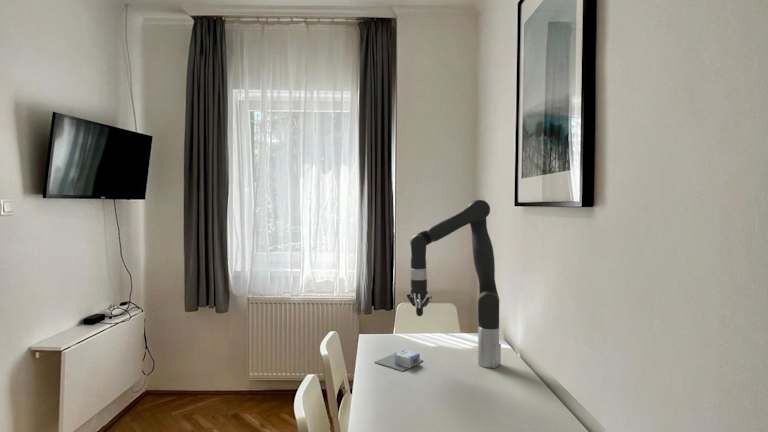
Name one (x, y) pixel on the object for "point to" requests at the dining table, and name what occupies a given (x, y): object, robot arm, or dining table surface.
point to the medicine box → (407, 359)
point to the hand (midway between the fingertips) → (419, 315)
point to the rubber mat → (392, 363)
